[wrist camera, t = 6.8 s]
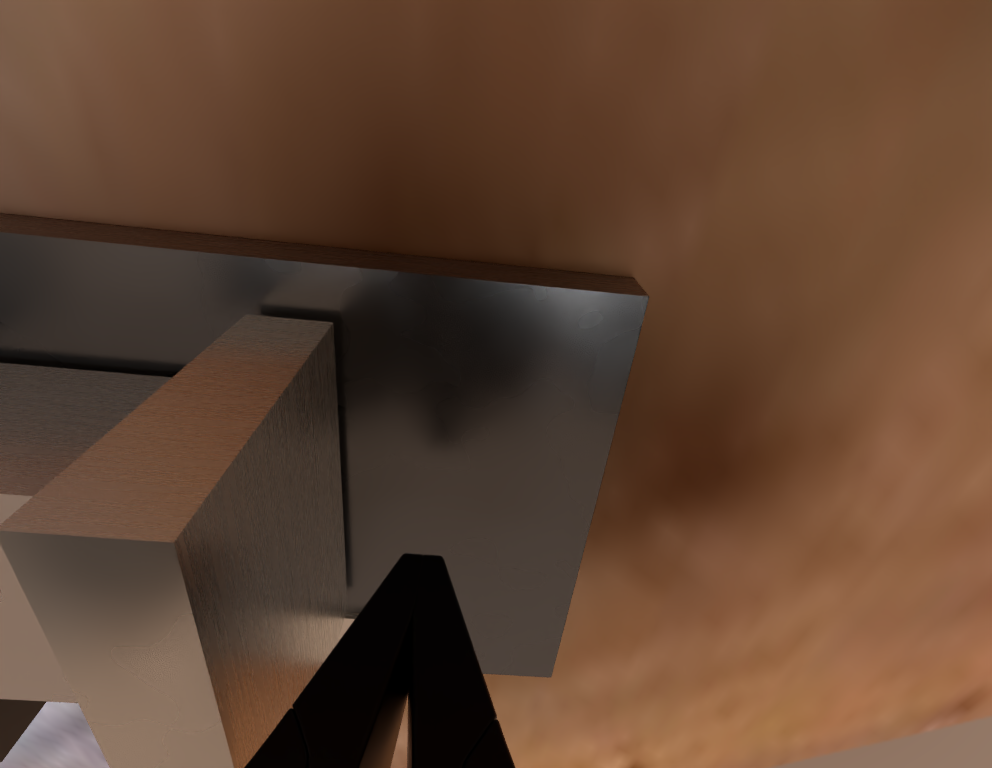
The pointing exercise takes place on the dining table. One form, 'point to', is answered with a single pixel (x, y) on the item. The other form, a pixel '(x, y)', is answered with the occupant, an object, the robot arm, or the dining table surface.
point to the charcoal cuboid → (15, 721)
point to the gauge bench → (380, 391)
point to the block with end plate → (174, 542)
